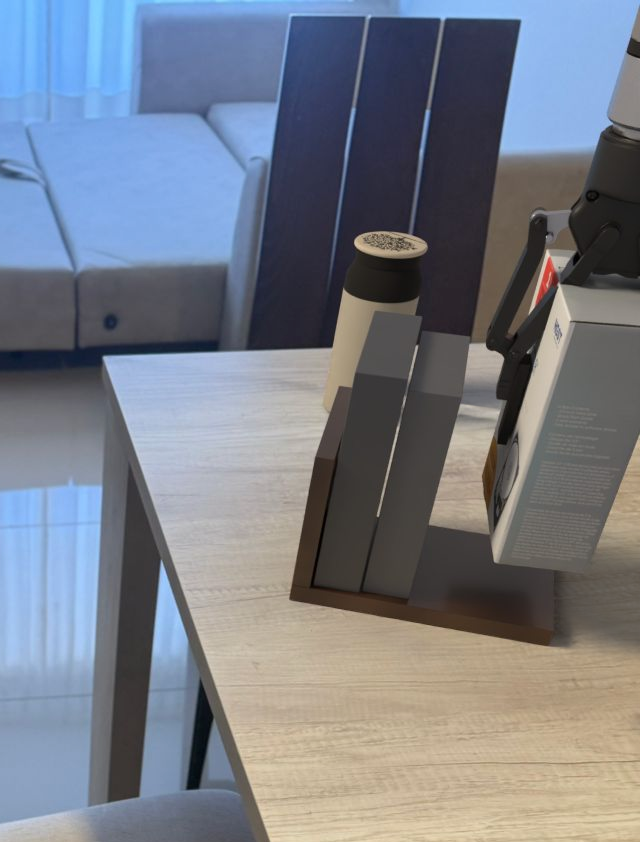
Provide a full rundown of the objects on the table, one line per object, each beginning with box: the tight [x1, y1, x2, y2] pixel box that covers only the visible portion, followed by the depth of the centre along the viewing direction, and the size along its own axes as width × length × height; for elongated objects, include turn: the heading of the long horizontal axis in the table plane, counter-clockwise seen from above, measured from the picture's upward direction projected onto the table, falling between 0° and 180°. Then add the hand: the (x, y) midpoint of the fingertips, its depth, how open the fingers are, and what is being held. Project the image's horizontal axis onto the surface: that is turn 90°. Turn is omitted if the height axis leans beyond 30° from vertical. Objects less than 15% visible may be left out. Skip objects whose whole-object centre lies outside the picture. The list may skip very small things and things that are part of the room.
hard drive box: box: [481, 248, 640, 574], centre depth 92 cm, size 16×8×20 cm, turn 168°
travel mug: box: [322, 231, 429, 413], centre depth 126 cm, size 8×8×18 cm
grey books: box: [313, 311, 471, 599], centre depth 99 cm, size 8×14×19 cm, turn 162°
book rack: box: [288, 386, 555, 647], centre depth 101 cm, size 22×15×14 cm
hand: (556, 445), depth 94 cm, fingers closed on hard drive box, 8 cm apart
